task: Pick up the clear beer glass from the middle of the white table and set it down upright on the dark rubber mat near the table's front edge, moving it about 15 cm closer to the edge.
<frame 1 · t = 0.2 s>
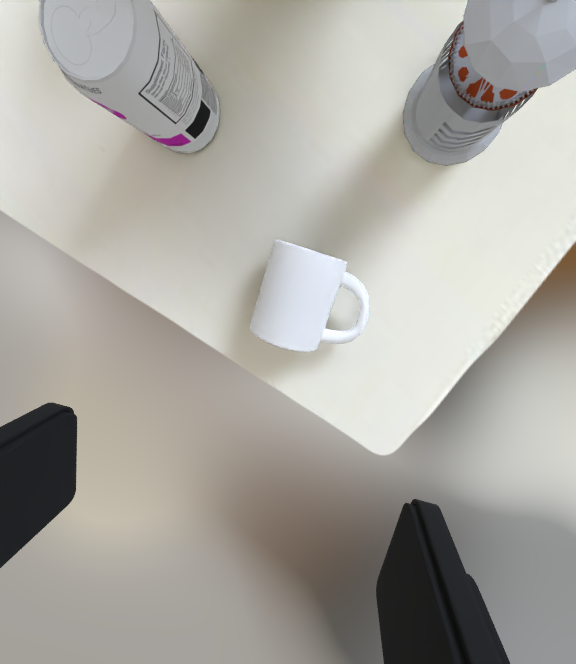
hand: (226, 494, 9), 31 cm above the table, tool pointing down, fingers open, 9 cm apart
supplement can: (187, 115, 36), on the table
french press: (462, 108, 32), on the table
mug: (317, 296, 38), on the table
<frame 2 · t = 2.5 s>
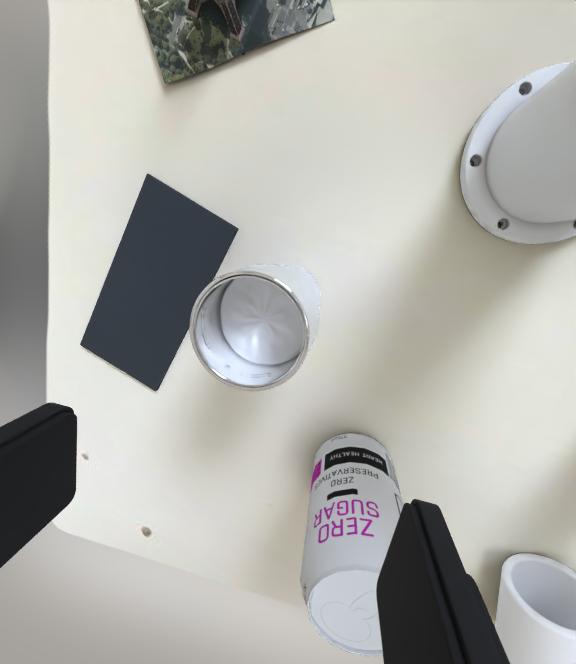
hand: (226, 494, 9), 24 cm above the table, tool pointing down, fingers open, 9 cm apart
supplement can: (352, 462, 35), on the table
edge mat: (153, 291, 33), on the table
beer glass: (290, 296, 31), on the table
mug: (542, 589, 35), on the table
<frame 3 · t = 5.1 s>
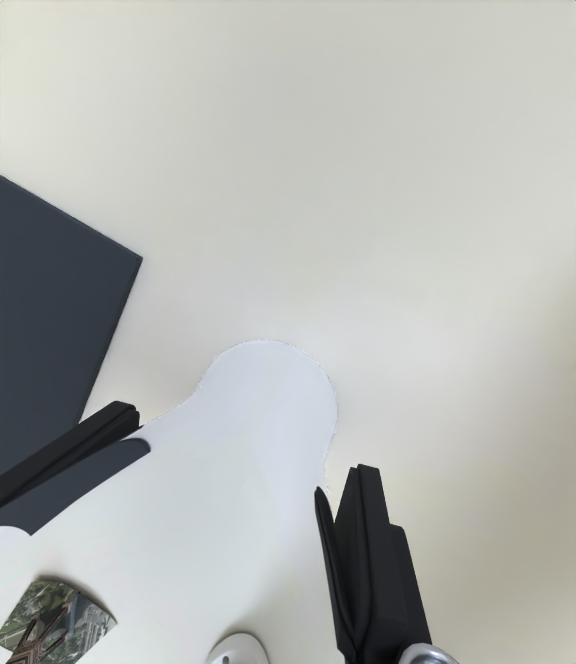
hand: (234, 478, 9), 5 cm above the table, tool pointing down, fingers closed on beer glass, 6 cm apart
beer glass: (268, 403, 14), on the table, touching gripper
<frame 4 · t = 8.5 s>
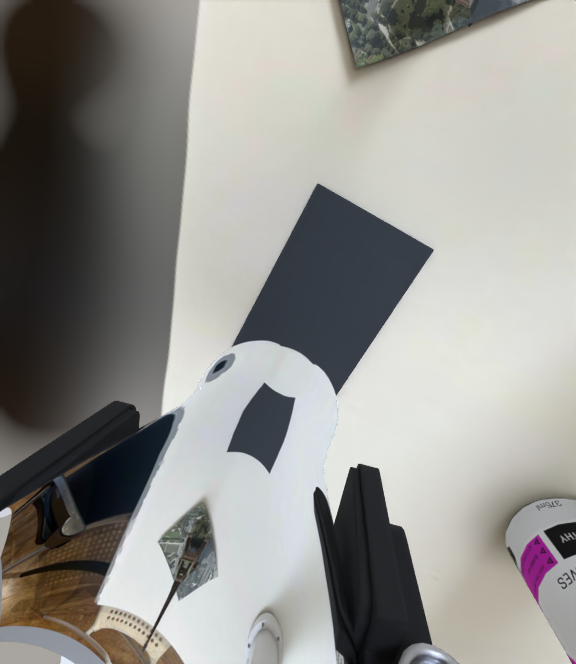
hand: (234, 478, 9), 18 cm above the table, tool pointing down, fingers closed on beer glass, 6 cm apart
supplement can: (550, 530, 28), on the table
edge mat: (309, 327, 27), on the table
beer glass: (268, 404, 14), point 14 cm above the table, touching gripper
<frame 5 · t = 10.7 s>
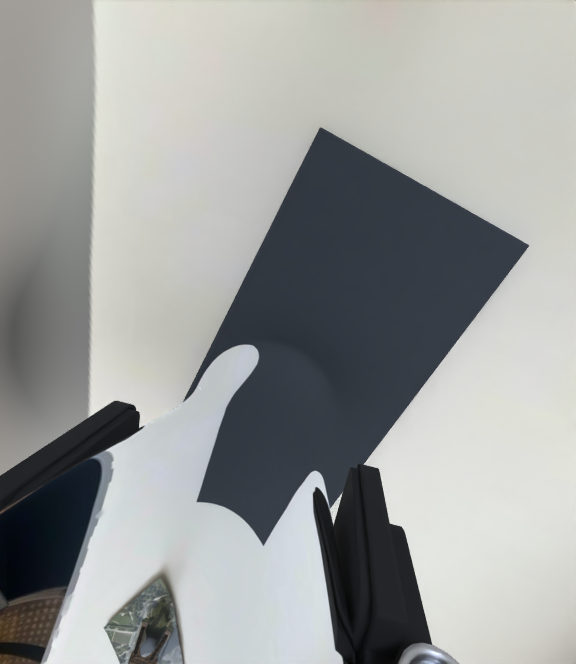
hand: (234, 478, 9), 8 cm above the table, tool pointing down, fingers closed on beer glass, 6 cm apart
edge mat: (306, 373, 16), on the table
beer glass: (267, 404, 14), point 3 cm above the table, touching gripper
when the fingers open (5 cm above the table, at t = 12.0 s): beer glass stays where it is, resting on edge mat.
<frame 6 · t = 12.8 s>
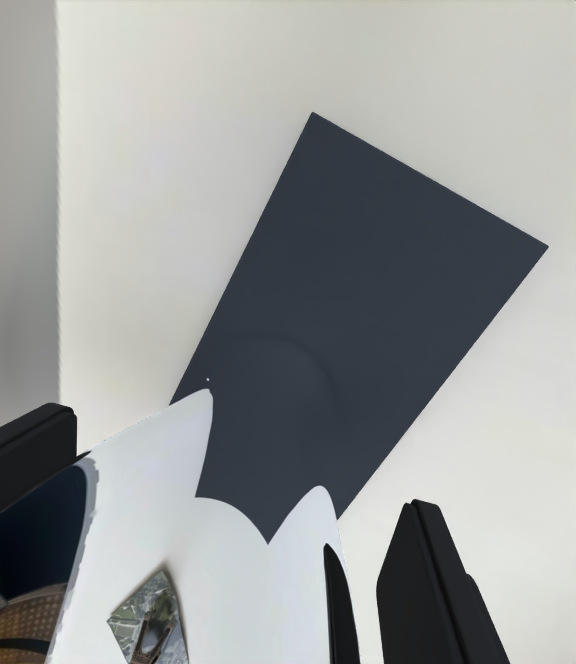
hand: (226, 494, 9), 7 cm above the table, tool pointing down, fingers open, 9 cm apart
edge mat: (298, 388, 15), on the table
beer glass: (269, 397, 15), resting on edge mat
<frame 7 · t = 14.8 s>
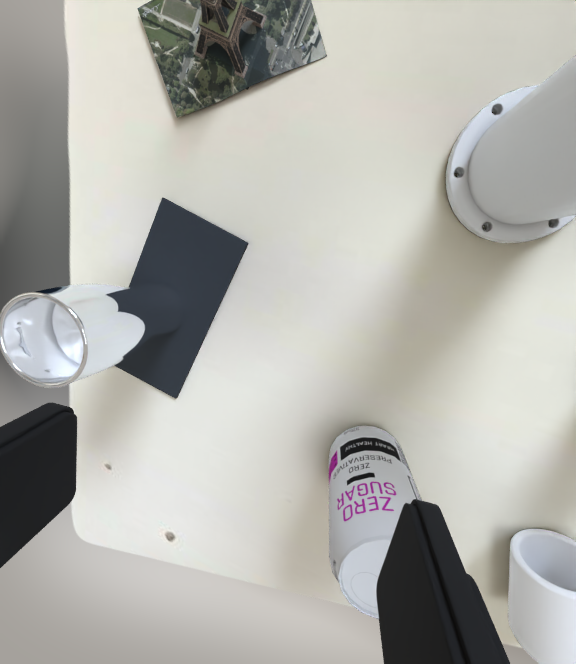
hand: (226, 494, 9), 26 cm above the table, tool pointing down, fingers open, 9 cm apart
supplement can: (364, 453, 37), on the table
eiffel tower figurine: (232, 35, 29), on the table
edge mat: (171, 304, 36), on the table
beer glass: (159, 308, 36), resting on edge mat
mug: (549, 562, 37), on the table
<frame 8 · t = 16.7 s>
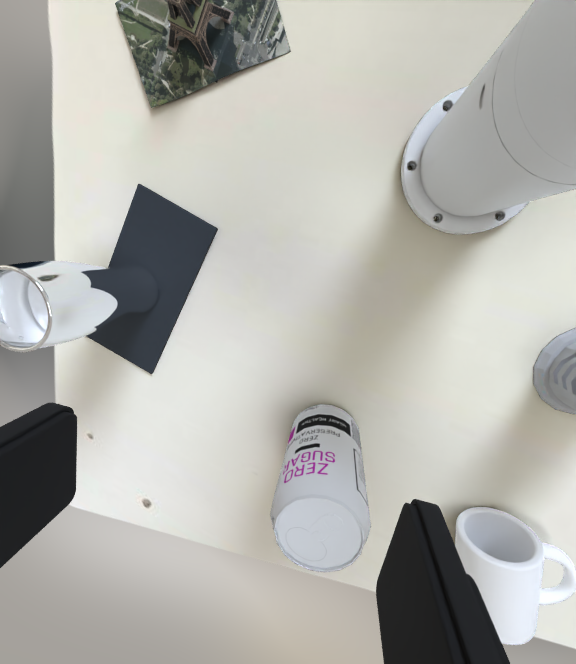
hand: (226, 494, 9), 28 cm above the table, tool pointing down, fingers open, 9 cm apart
supplement can: (325, 431, 39), on the table
eiffel tower figurine: (203, 29, 31), on the table
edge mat: (147, 285, 38), on the table
beer glass: (136, 288, 38), resting on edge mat
mug: (496, 539, 39), on the table
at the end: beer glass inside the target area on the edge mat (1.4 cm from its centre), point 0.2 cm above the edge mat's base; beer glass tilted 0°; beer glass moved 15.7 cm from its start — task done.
